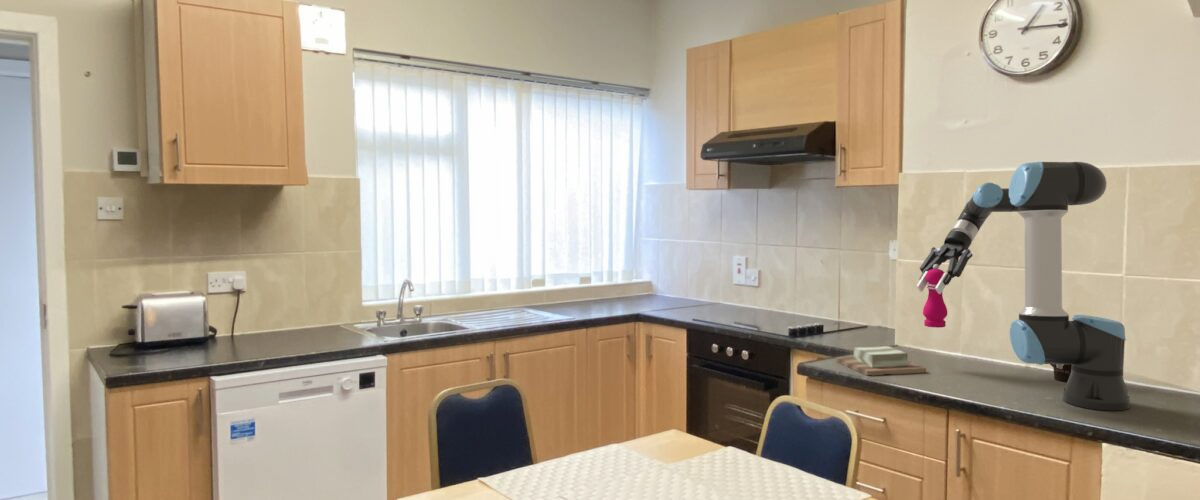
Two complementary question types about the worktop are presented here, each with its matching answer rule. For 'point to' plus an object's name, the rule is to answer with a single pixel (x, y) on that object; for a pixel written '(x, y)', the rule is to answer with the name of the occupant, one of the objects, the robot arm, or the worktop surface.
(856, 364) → the base
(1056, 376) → the coffee mug
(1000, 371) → the worktop surface
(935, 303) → the pepper mill
